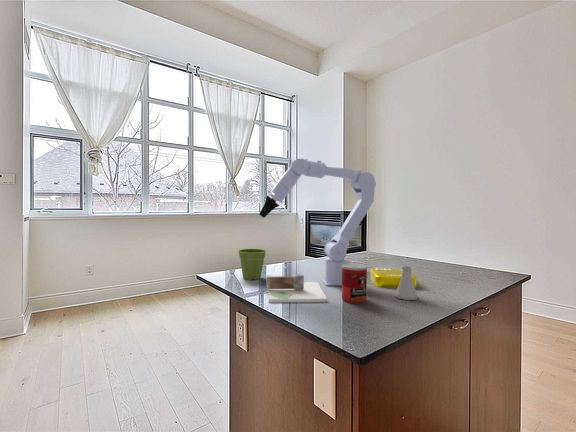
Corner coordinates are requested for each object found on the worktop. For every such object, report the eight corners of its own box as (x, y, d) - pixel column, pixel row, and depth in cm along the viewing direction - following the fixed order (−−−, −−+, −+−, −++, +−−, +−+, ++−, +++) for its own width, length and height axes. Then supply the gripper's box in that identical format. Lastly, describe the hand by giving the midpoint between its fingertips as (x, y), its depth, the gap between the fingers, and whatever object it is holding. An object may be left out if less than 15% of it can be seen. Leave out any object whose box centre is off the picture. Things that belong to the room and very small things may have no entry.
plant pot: (265, 281, 118) (265, 253, 117) (234, 281, 118) (234, 252, 118) (267, 274, 130) (268, 248, 129) (240, 274, 130) (240, 248, 129)
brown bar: (303, 286, 106) (303, 274, 106) (304, 289, 102) (304, 276, 102) (266, 287, 105) (266, 274, 105) (266, 290, 101) (266, 277, 101)
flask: (417, 295, 102) (418, 266, 102) (418, 302, 95) (419, 270, 95) (394, 293, 104) (395, 264, 104) (394, 299, 98) (395, 268, 97)
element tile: (375, 287, 112) (375, 275, 112) (369, 278, 127) (369, 266, 127) (417, 289, 111) (418, 276, 110) (406, 279, 126) (407, 267, 125)
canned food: (352, 305, 92) (353, 269, 91) (336, 297, 99) (336, 264, 98) (371, 301, 95) (372, 266, 95) (354, 294, 102) (355, 262, 102)
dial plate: (317, 284, 114) (317, 281, 114) (326, 302, 94) (326, 298, 94) (269, 285, 113) (269, 281, 113) (268, 302, 93) (268, 298, 93)
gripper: (274, 181, 120) (253, 209, 119) (275, 178, 105) (252, 209, 105) (288, 192, 120) (267, 220, 120) (292, 190, 106) (268, 221, 106)
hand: (261, 215), depth 113 cm, fingers open, 7 cm apart
